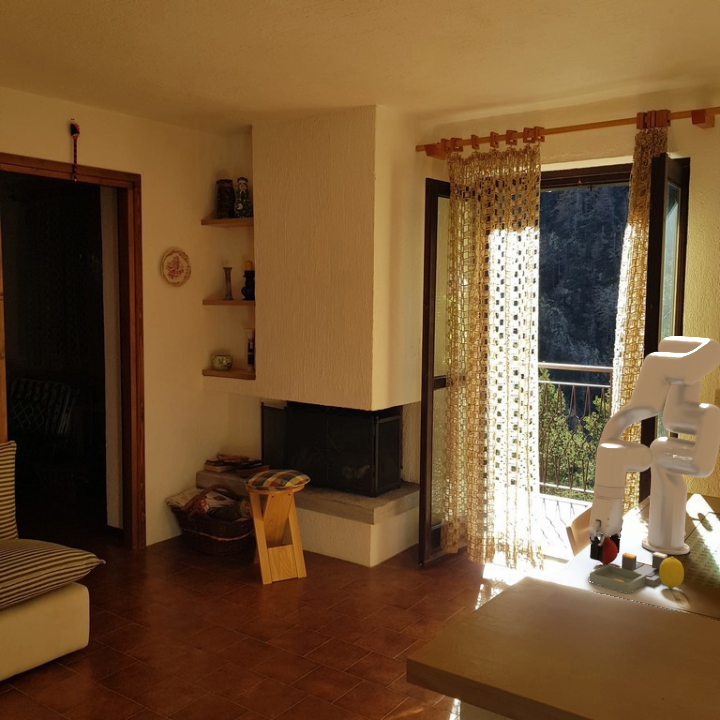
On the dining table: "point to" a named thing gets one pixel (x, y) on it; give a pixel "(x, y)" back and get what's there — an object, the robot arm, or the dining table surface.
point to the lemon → (671, 572)
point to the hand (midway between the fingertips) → (604, 555)
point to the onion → (609, 551)
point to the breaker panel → (648, 573)
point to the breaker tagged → (629, 561)
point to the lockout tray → (618, 578)
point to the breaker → (658, 559)
